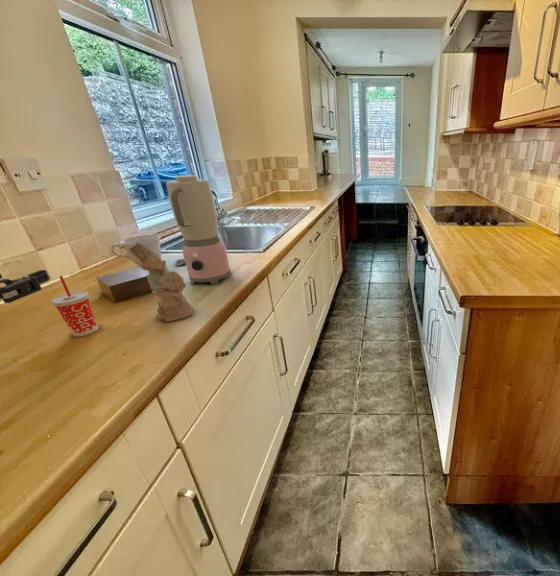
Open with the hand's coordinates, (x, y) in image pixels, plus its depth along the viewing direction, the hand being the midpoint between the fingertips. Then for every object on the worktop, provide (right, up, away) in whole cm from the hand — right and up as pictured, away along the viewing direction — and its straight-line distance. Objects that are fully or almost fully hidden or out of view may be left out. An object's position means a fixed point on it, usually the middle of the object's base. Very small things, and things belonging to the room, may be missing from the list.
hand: (23, 275), depth 62 cm
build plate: (-1, +8, +59) cm, 59 cm away
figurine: (+17, -10, +20) cm, 28 cm away
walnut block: (-6, -3, +34) cm, 34 cm away
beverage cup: (0, -13, +13) cm, 18 cm away
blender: (+14, 0, +41) cm, 44 cm away
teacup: (-16, +5, +53) cm, 56 cm away
